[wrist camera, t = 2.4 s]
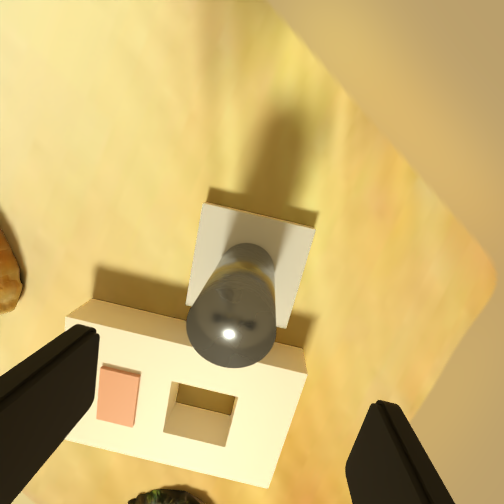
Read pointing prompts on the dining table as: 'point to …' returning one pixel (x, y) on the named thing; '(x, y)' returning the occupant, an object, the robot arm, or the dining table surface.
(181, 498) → the grey rounded lumpy piece
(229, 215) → the pad
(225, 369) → the board
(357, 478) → the robot arm
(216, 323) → the peg
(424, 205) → the dining table surface
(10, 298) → the pastry
